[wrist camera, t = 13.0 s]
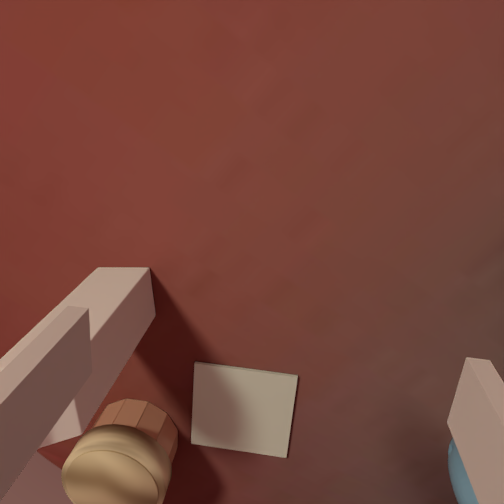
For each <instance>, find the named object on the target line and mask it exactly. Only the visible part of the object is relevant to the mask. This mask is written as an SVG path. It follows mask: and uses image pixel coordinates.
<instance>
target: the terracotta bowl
mask: <svg viewBox="0 0 504 504" xmlns="http://www.w3.org/2000/svg"><path fill="white" fill-rule="evenodd" d="M107 424H119V425H125V426H130V427H133V428H136V429H138V430H141V431H143V432H144V433H146V434H148V435H149V436H151V437H152V438H154V439H155V440H156V441H157V442H158V443H159V444H160V445H161V446H162V447H163V449H164V450H165V451H166V453H167V455H168V457H169V459H170V462H171V465H172V462H173V459H174V456H175V453H176V450H177V447H178V430H177V428H176V427H175V425H174V423H173V422H172V420H171V419H170V417H169V415H168V414H167V413H166V412H164V411H162V410H161V409H159V408H158V407H156V406H154V405H153V404H151V403H150V402H147V401H140V400H133V399H124V400H121V401H118V402H115V403H112V404H109V405H107V407H106V408H105V409H104V411H103V412H102V414H101V415H100V416H99V418H98V419H97V421H96V423H95V424H94V426H93V427H92V428H95V427H97V426H101V425H107Z"/></svg>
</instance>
